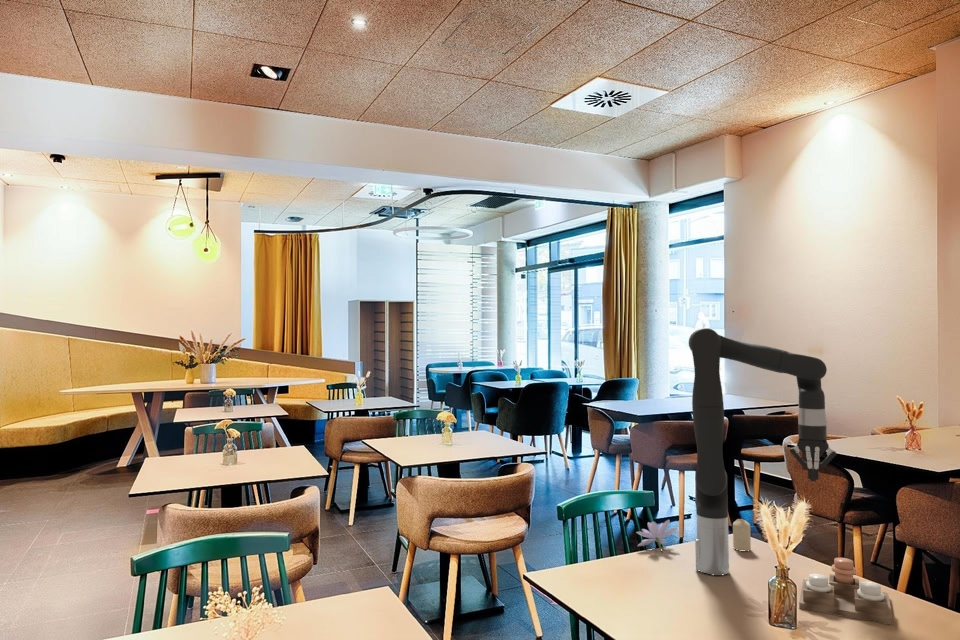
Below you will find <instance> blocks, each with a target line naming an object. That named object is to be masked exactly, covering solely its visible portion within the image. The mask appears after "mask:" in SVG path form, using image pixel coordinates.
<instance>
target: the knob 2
mask: <svg viewBox="0 0 960 640" xmlns="http://www.w3.org/2000/svg"><path fill="white" fill-rule="evenodd" d="M859 588H860V589H858V590H857V595H858V596H859V597H861V598H862V599H866V600H870V601H880V602H881V601H883V600H884V594H883V593H882V592H883V591H882V588H881V585H880V584H879V583H875V582H871V581H861V582H860V581H859Z"/></svg>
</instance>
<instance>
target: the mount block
mask: <svg viewBox="0 0 960 640" xmlns="http://www.w3.org/2000/svg"><path fill="white" fill-rule="evenodd" d="M807 581H809V579H803V580H802V584H801V585H802V586H801V590H800V595H799V596H800V597H799V602H798V606H799V607H798V608H799V609H801V610H807V611H812V612H818V613H823V614H829V615H835V616H840V617H847V618H851V619H857V620H863V621H867V620H868V622H873V621H874V622H873V623H879V624H884V623H885V624H884V625H889V624H890V626H893V623H894V621H893V620H894V619H893V615H892V608H891V602H890V596H889V592H885V591H881V592H882V593H883V594H884V600H883V601H881V602H880V601H870V600H866V599H862V598H861V597H859V596H858V595H857V590H858V589H860V578H858V577H853V584H844V583H838V582H836V581H835V574H834V573H833V574H832V573H830V574H829V577H828V584H830V585H831V591H830V592H828V593H825V592H816V591H813V590H810V589H808V588H807V587H806V582H807Z"/></svg>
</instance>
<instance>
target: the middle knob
mask: <svg viewBox="0 0 960 640" xmlns="http://www.w3.org/2000/svg"><path fill="white" fill-rule="evenodd" d="M833 560H834V563H833V564H832V565H831V571H832V572H834V575H835V581H836V582H838V583H844V584H853V578H854V576H855V575H856V574H857V568H856V567H854V560H852V559H850V558H846V557H834V559H833Z"/></svg>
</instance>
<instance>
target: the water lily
mask: <svg viewBox="0 0 960 640" xmlns="http://www.w3.org/2000/svg"><path fill="white" fill-rule="evenodd" d="M670 522H671V521H670V519H667V520H665V521H664V522H661V523H660V524H659V525H658V523H657V522H656V521H651V522H649V521H648V522H647V528H648V529H645V528H641V531H636V532H635V533H636V534H637V535H639V536H641V537H644V538H646V539H642V540H640V541H641V542H639V544H637V547H644V546H648V545H650V544H652V543H654V542H656V543H657V544H658V548H659V550H660V549H662V545H665V544H666V539H664V538H666V537H669V536H670V535H672V534H673V533H675V532H676V531H677V530H678V528H677V527H672V528H669V529H668V527H669V525H670ZM647 538H648V539H647ZM662 550H663V549H662Z"/></svg>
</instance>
